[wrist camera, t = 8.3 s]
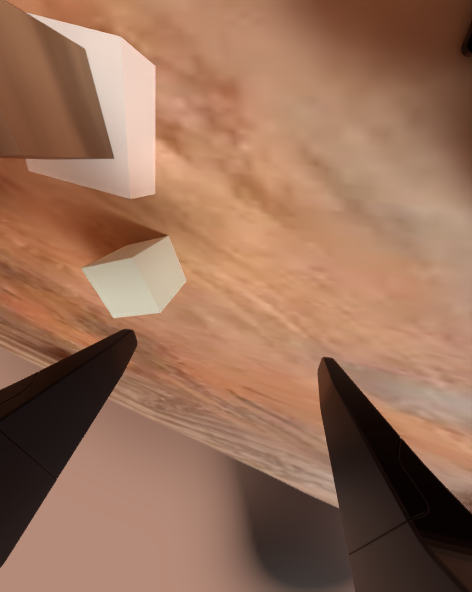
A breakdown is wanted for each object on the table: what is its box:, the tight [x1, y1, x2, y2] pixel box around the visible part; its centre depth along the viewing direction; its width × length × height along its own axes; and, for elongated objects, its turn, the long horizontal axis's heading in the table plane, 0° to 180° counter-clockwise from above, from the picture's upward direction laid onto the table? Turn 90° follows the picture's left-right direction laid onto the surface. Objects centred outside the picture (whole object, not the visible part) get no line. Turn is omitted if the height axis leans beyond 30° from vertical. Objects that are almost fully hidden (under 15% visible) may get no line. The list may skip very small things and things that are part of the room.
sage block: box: [81, 236, 186, 318], centre depth 19 cm, size 5×5×6 cm
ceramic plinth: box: [25, 13, 155, 199], centre depth 15 cm, size 8×8×4 cm
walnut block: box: [0, 0, 114, 160], centre depth 10 cm, size 5×5×6 cm
